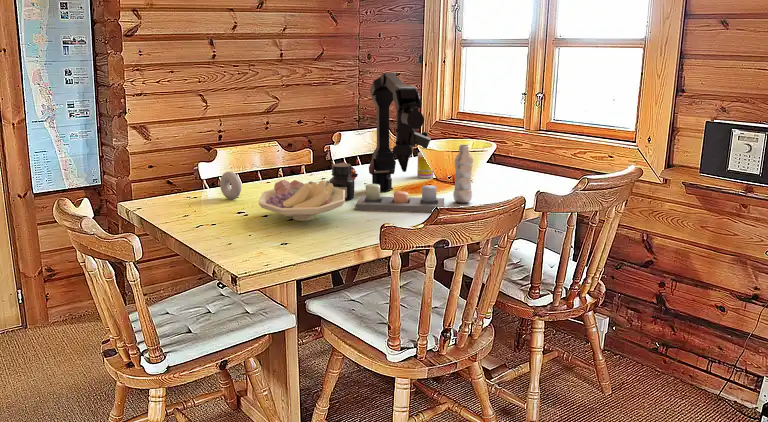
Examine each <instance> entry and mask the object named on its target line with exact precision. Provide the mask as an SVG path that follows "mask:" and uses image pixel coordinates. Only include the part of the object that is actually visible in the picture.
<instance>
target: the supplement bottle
mask: <svg viewBox="0 0 768 422" xmlns="http://www.w3.org/2000/svg"><path fill="white" fill-rule="evenodd" d="M419 146H420V145H419ZM420 147H421V146H420ZM428 147H429V148H432V149H433V146H432V145H430V144H429V145H428ZM416 173H417V175H416V176H417V177H418V178H420V179H433V177H434V176H435V175H434V174H433V171H432V170H431V168H430V167H429V165H428V164H427V162H426V160H425V159H424V157H423V155H422V153H421V151H419V152H418V153H417V172H416Z"/></svg>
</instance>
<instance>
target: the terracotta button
mask: <svg viewBox="0 0 768 422" xmlns="http://www.w3.org/2000/svg"><path fill="white" fill-rule="evenodd" d="M393 197H394V203H407V204H408V197H409V191H403V190H402V191H401V190H398V191H397V190H396V191H394V192H393Z"/></svg>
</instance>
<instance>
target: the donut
mask: <svg viewBox="0 0 768 422" xmlns="http://www.w3.org/2000/svg"><path fill="white" fill-rule="evenodd" d="M219 186H220V190H221V193H222V195H223V196H224V197H225V198H226V199H228V200H236V199H237V198H238V197H239V196H240V194H241V191H242V183H241V180H240V178H239V176H238V175H237V174H236V173H235V172H233V171H226V172H224V173H222V175H221V177H220V180H219Z"/></svg>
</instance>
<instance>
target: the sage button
mask: <svg viewBox="0 0 768 422" xmlns="http://www.w3.org/2000/svg"><path fill="white" fill-rule="evenodd" d="M365 196H366V199H369V200H377V199H380V197H381V192H380V185H379V184H372V183H368V184H365Z"/></svg>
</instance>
